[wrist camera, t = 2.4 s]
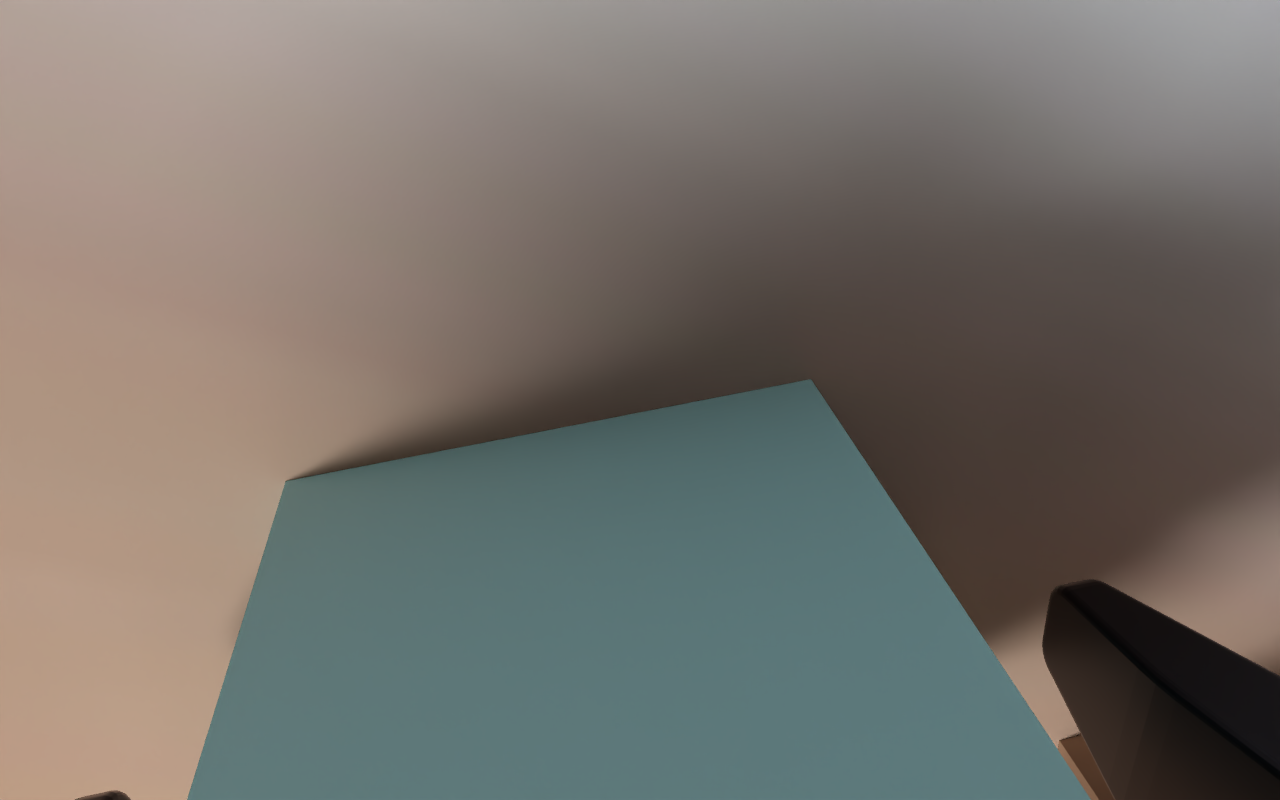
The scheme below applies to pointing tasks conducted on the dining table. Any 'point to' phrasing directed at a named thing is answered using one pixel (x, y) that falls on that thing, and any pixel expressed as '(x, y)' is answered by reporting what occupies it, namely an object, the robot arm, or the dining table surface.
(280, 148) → the dining table surface
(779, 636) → the teal cube
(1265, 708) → the robot arm
